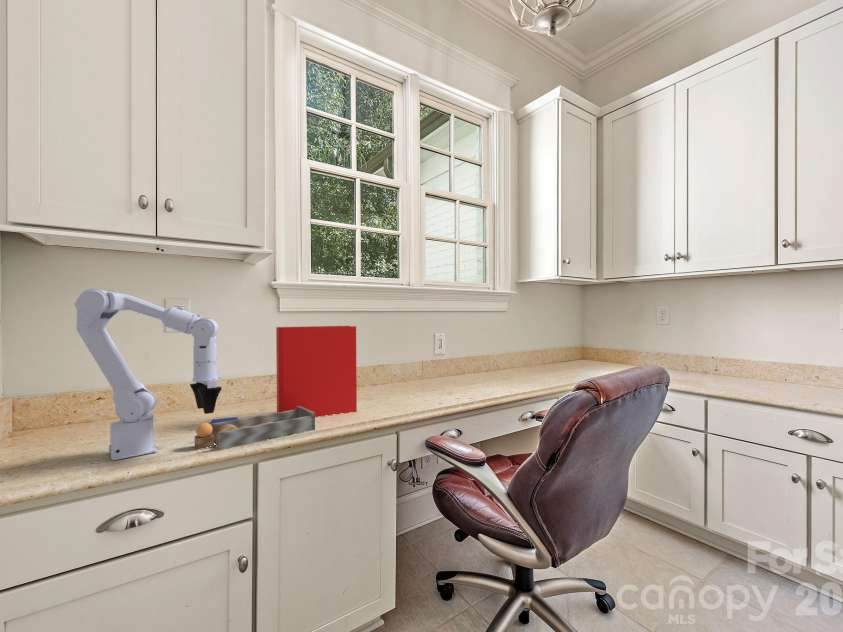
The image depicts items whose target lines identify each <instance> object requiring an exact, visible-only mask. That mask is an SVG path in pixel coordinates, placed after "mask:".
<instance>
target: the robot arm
mask: <svg viewBox="0 0 843 632" xmlns="http://www.w3.org/2000/svg"><path fill="white" fill-rule="evenodd" d="M73 305H74V306H75V309H76V330H77V333H78V335H79V336H80V338H81V340H82V341H83V342H84V344H85V346H86V347H87V349H88V351H89V353H90V355H91V356H92V358H93V359H94V361H95V362H96V364H97V365H98V367H99V369H100V371H101V372H102V374H103V375H104V377H105V378H106V380H107V382H108V383H109V385H110V386H111V388H112V390H113V391H112V393H113V394H112V401H113V402H114V405H115V414H116V416H117V417H118V418H119V420H118V421H113V422H110V424H109V445H108V452H109V454H110V458H111V461H117V460H122V459H123V460H124V459H127V458H131V457H137V456H138V457H139V456H141V455H143V456H144V455H147V454H153V452H154V453H157V452H158V449H157V447H156V446H155V444H154V443H155V442H154V441H155V440H154V414H153V413H154V412H153V409H154V408H155V407H156V404H157V397H156V395H155V393H153V392H151V391H150V390H149V389H147V388H146V386H145V384H143V383H142V382H141V381H138V380H137V378H136V377H135V375H134V374H133V372H132V370H131V369H130V367H129V365H128V363H127V362H126V360H125V359H124V357H123V355H122V353H121V352H120V350H119V349H118V347H117V346H116V344H115V342H114V341H113V338H112V337H111V336H110V333H109V332H108V331H107V326H108V324H109V323H110V320H111V319H112V318H113V317H114V316H116V315H117V313H119V312H120V311H133V312H135V313H138V314H142V315H145V316H148V317H151V318H155V319H158V320H161V322H162V324H163V325H164V327H166V328H168V329H172V330H174V331H178V332H181V333H183V334H187V335H191V336H192V337H193V345H192V346H193V347H192V348H193V358H192V359H193V360H192V361H193V364H192V365H193V378H192V382H194V383H190V384H189V387H190V388H191V390H192V392H193V395H194V398H195V403H196V406H197V409H203V412H204V414H205V415H207V414H214V412H215V408H216V403H217V400H218V397H219V394H220V393H221V391H222V386H217V381H218V380H222V378H223V377H222V376H221V375H218V348H217V347H218V344H217V342H218V341H217V336H216V335H217V334H218V333H219V324H218V323H217V321H215V320H214V319H212V318H211V317H204V318H203V314H200V313H197V314H196V313H192V312H190V311H187V310H185V307H183V306H178V307H176V306H172V307H169V308H164V307H162V306H160V305H157V304H154V303H152V302H149V301H148V300H147V301H146V300H144V299H142V298H139V297H137V296H133V295H130V294H127V293H122V292H120V293H119V292H117V291H115V290H102V289H99V288H88V289H85V290H84V291H82V292H81V293H80V294H79V296H78V298H77V299H76V301H75V302H74V304H73Z"/></svg>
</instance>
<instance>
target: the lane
mask: <svg viewBox="0 0 843 632" xmlns="http://www.w3.org/2000/svg"><path fill="white" fill-rule="evenodd" d="M209 424H210V423H209ZM210 425H211V426H212V429H213V430H212V433H211V434H212V435H213V436H214V443H215V444H216V445H217V447H216V449H217V451H221V450H226V449H230V448H235V447H240V446H244V445H249V444H253V443H258V442H263V440H264V441H268V440H267V439H269V440H273V439H272V438H274V439H277V438H276V437H278V438H281V436H283V437H287V436H286V435H288V436H290V435H289V434H292V435H295V434H294V433H297V434H300V433H299V432H302V433H305V432H304V431H307V432H311V431H315V430H316V417H315V412H313V411H310V410H308V409H306V408H303V407H301V406H297V409H296V410H290V411H284V412H278V413H277V412H274V413H267V414H261V415H255V416H251V417H250V416H249V417H243V418H238V419H237V420H231V421H225V422H219V423H213V424H210ZM310 430H311V431H310Z"/></svg>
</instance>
